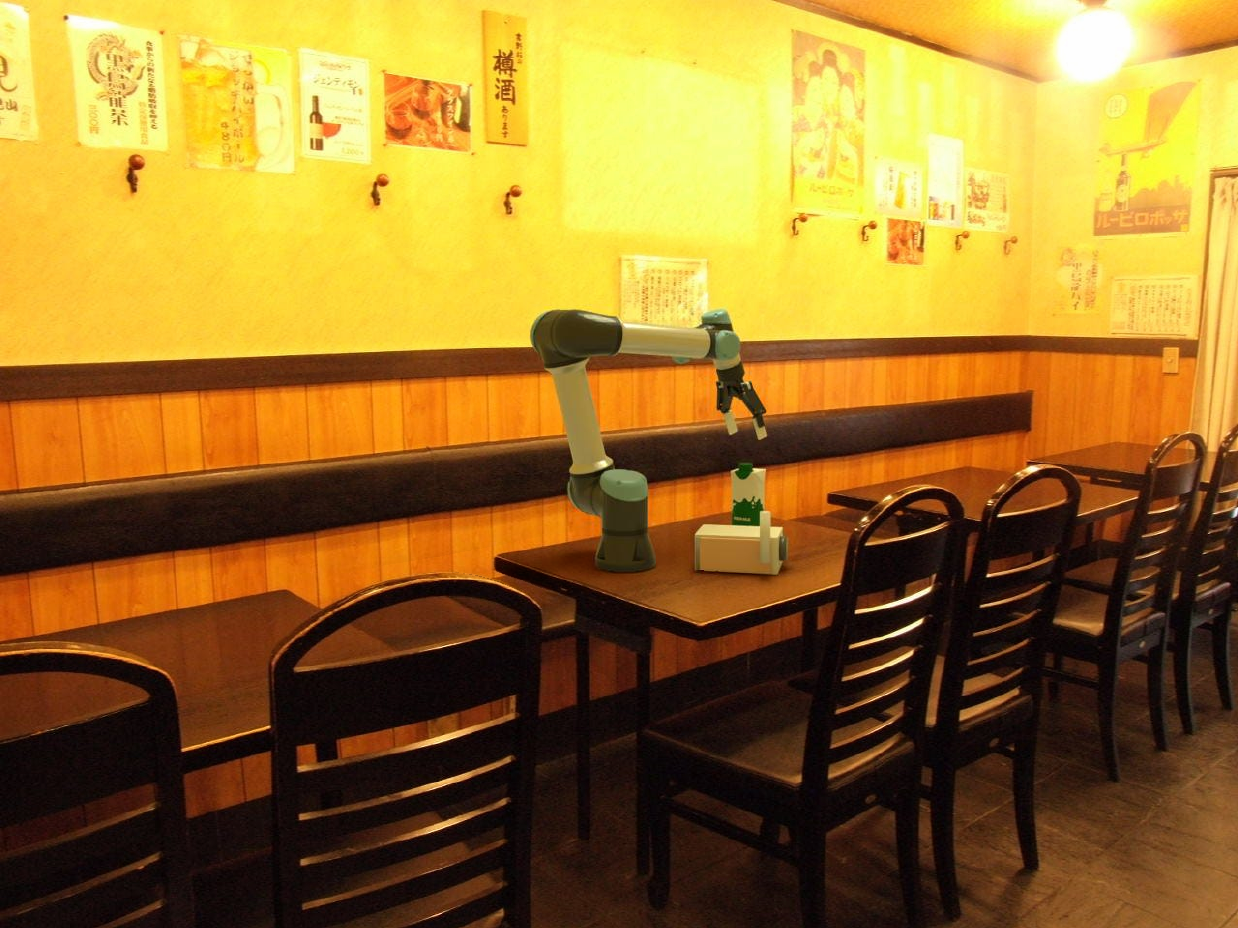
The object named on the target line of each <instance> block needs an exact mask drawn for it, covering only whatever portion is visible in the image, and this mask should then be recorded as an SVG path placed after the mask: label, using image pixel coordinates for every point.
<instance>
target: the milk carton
mask: <svg viewBox="0 0 1238 928" xmlns="http://www.w3.org/2000/svg"><path fill="white" fill-rule="evenodd" d="M766 473H767V468H756V467H755V468H754V465H753V463H751V462H739V463H738V468H735V469H731V470H730V477H731V525H738V526H760V511H766V510H765V504H766V503H765V497H766V495H765V494H766V493H765V490H766V489H765V484H766V483H765V482H766Z"/></svg>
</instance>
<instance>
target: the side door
mask: <svg viewBox="0 0 1238 928" xmlns="http://www.w3.org/2000/svg"><path fill="white" fill-rule="evenodd" d="M770 527H771V511H770V510H765V511H760V540H757V539H733V538H709V537H696V570H695V571H697V570H704V571H703V572H716V571H724V572H723V573H736V572H744V573H743V574H756V573H763V574H762V575H772V574H771V540H770Z"/></svg>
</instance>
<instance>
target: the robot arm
mask: <svg viewBox="0 0 1238 928" xmlns="http://www.w3.org/2000/svg"><path fill="white" fill-rule="evenodd" d="M700 319H701V324H699V325H697V326H696V327H695V326H694V327H686V326H676V325H666V324H665V325H664V324H653V323H646V322H645V323H643V322H634V321H623V320H621V319H620V318H619V317H618V316H613V315H607V314H600V313H596V312H592V311H588V310H582V309H559V308H557V309H554V310H553V309H551V310H549V311H545V312H543V313H541V314H540V315H538V316H537V317H536V319H534V321H533V323H532V324H531V328H530V331H529V333H530V334H529V340H530V344H531V346H532V348H533V349H534V351H535V352H536V353H537V354H539V355H540V356H541V360H542V364H543V368H544V370H546V371H547V372H549V373H550V374H551V376H552V380H553V384H554V388H555V391H556V396H557V400H558V404H559V407H560V413H561V417H562V421H563V422H562V423H563V425H564V428H565V433H566V438H567V441H568V445H569V450H570V455H571V458H572V459H571V460H572V465H571V466H570V468H569V470H568V471H569V481H568V482H567V496H568V498H569V500H570V502H571V504H573V506H574V507H575V508H576V509H578V510H579V511H581V512H583V513H585V514H586V515H590V516H594V517H598V518H601V523H600V524H601V536H600V541H599V543H598V546H597V551H596V553H595V557H594V560H595V561H594V562H595V565H596V566H595V567H596V568H597V567H598V568H600V569H599V570H601V569H603V570H602V571H604V570H607V571H606V572H610V571H614V572H613V573H636V572H637V571H638V572H642V571H643V570H644V571H647V570H650V569H653V568H654V567H655V566H656V565H655V564H657V563H656V554H655V551H654V547H653V546H652V545H653V544H652V542H651V539H650V537H649V499H648V498H649V488H648V480H647V477H646V476H645V475H644V474H642V473H640V472H639V471H635V470H628V469H618V468H617V469H615V465H614V459H612V458H611V457H609V456H607V455H606V452H605V448H604V443H603V438H602V434H601V430H600V426H599V422H598V421H599V420H598V417H597V412H596V408H595V403H594V400H593V395H592V391H591V386H590V382H589V378H588V373H587V369H586V368H587V367H586V365H587V364H588V362H589V360H590V357H601V356H606V357H614V356H615V357H616V355H619V353H622V354H637V355H649V356H650V355H651V356H662V357H663V356H664V357H671V358H672V360H673V361H674V362H676V363H677V364H680V365H681V364H685V363H686V362H687V363H688V362H690V361H691V360H695V359H696V360H712V362H713V366H714V368H715V371H716V377H717V379H718V380H717V381H715V386H716V406H715V407H716V411H720V412H721V414H722V415H723V416H722V417H723V418H724V422H725V424H726V429H727V431H728V435H729V436H732V435H733V434H735V433H738V431H739V430H738V426H737V422H736V419H735V417H734V412H733V410H732V403H733V400H734V398H736V399H738V400H739V401H741V402H742V403H743V404H744V406H745V407H746V408H747V409H748V411H749V412H750V414H751V415H752V422H753V425H754V430H755V433H756V436H757V439H758V440H762V439H764V438H766V437H768V434H767V430H766V427H765V426H766V425H765V420H764V417H763V415H764V414H767V409H766V407H765V406H764V404H763V402H762V400H761V398H760V397H759V396H758V394H757V392H756V390H755V388H754V386H753V382H752V380H748V381H746V382H745V381H744V379H743V378H744V376H745V374H746V372H745V369H744V365H743V363H742V362H741V360H742V359H741V354H740V351H741V346H742V345H741V340H740V337H739V335H738V334H737V333H736V332H734V328H733V322H732V320H731V318H730V315H729V312H728V310H726V309H725V308H718V309H714V310H713V309H712V310H710V311H707V312H705V313H704V314H702V315H701V318H700ZM598 568H597V569H598ZM638 572H637V573H638Z"/></svg>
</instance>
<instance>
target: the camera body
mask: <svg viewBox="0 0 1238 928" xmlns="http://www.w3.org/2000/svg"><path fill="white" fill-rule="evenodd" d="M783 529H784V527H783V526H770V540H771V574H770V575H776V576H777V575H778V574H779V572H780V569H781V567H782V564H783V562H787V561H788V553H789V550H788V549H789V539H788V536H785V535H783V533H784V532H783V531H784V530H783ZM696 537H709V538H733V539H757V540H760V526H738V525H732V524H711V523H709V524H708V523H707V524H706V523H704V524H702V525H701V527H699V529H698V530H697V531H696V533H695V534H694V571H697V570H696ZM718 572H720V573H725V572H724V571H718ZM735 573H739V574H745V573H744V572H735ZM755 574H757V575H758V574H760V575H764V574H763V573H755Z"/></svg>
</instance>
